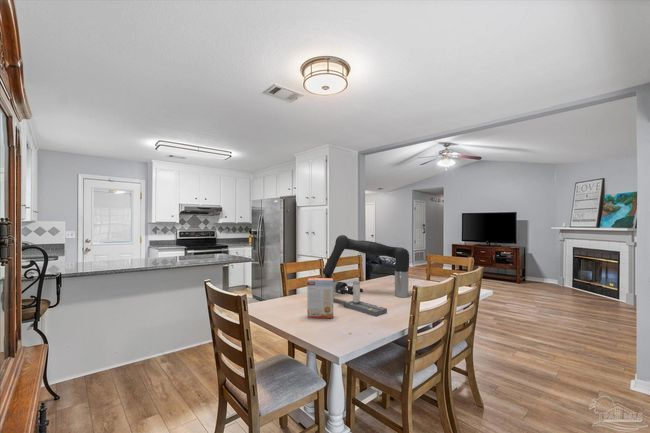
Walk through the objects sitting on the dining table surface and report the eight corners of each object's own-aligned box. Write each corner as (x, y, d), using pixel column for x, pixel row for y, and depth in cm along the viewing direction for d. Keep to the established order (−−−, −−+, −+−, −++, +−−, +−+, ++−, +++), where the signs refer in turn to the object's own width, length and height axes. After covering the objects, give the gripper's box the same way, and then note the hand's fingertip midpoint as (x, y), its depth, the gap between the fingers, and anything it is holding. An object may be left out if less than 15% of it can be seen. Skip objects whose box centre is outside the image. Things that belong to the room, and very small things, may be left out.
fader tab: (351, 302, 191) (351, 281, 191) (356, 301, 194) (356, 280, 194) (356, 303, 188) (356, 282, 188) (361, 302, 191) (361, 281, 191)
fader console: (344, 306, 191) (344, 302, 191) (355, 303, 198) (355, 299, 198) (375, 316, 173) (375, 311, 173) (386, 312, 180) (386, 308, 180)
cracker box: (333, 315, 176) (333, 277, 176) (332, 318, 170) (332, 280, 170) (308, 314, 177) (308, 277, 177) (307, 317, 171) (307, 279, 171)
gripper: (331, 283, 197) (349, 287, 185) (346, 280, 207) (365, 284, 195) (331, 295, 197) (349, 300, 185) (346, 291, 207) (365, 296, 195)
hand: (357, 291), depth 190 cm, fingers open, 8 cm apart
